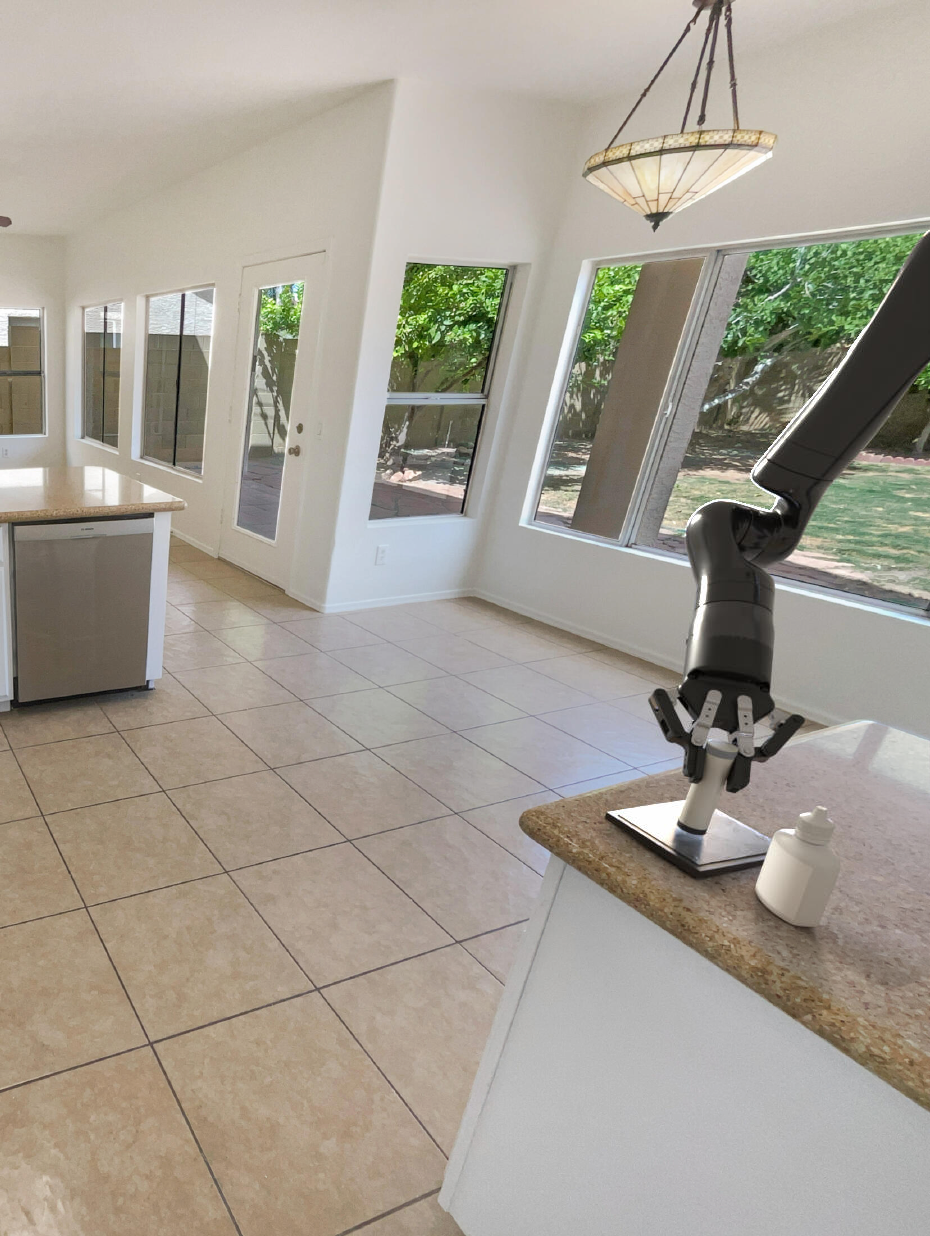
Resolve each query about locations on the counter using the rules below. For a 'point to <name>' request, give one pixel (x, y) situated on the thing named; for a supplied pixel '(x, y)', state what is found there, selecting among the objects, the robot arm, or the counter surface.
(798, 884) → the eye dropper bottle
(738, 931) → the counter surface
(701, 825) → the stylus
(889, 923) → the counter surface
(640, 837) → the tablet
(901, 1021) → the counter surface
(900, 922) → the counter surface
